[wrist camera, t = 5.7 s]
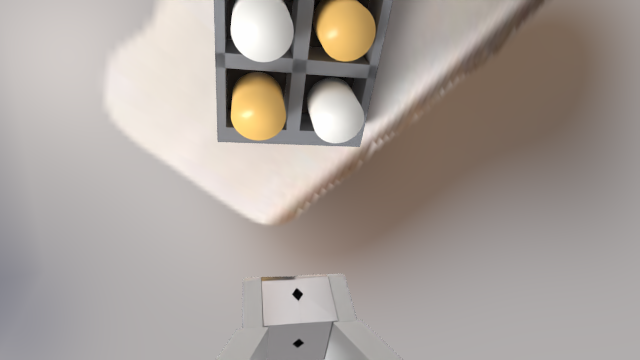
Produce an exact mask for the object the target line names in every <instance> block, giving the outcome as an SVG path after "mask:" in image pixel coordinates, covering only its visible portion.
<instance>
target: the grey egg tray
mask: <svg viewBox="0 0 640 360" xmlns="http://www.w3.org/2000/svg"><path fill="white" fill-rule="evenodd" d="M392 3H393V0H369V4H368V9H367V10H368V11H369V12H370V13H371V15H372V16H373V19H374V21H375V27H376V33H375V38H374V41H373V43H372V45H371V47H370V48H369V50H368V51H367V52H366V53H365V54H364V55H363V56H361V57H360V58H358V59H356V60H353V61H339V60H336V59H334V58H332V57H331V56H329V55H328V54H327V52H326V51H325V50H324V48H319V47H309V43H310V35H311V26H312V17H313V9H314V0H293V3H292V15H291V20H292V23H293V29H294V35H293V40H292V43H291V45H290V47H289V49H288V50H287V52H286V53H285V54H284V55H283V56H281V57H280V58H278V59H276V60H274V61H270V62H257V61H253V60H251V59H249V58H247V57H246V56H244V55H243V54H242V53H241V52H240V51H239V50H238V49H237V47H236V46H235V44H234V42H233V40H230V39H227V0H214V24H215V61H216V98H217V135H218V142H238V143H267V144H295V145H323V146H352V147H360V144H361V140H362V135H363V131H364V126H365V122H366V118H367V113H368V109H369V104H370V100H371V95H372V91H373V87H374V82H375V78H376V73H377V69H378V64H379V60H380V56H381V51H382V47H383V42H384V38H385V34H386V29H387V25H388V20H389V16H390V11H391V7H392ZM227 68H232V69H245V70H259V71H272V72H286V73H287V74H286V86H285V98H284V106H285V111H286V121H285V124H284V127H283V128H282V130H281V131H280V132H279V133H278V134H277V135H275V136H274V137H272V138H270V139H267V140H259V141H258V140H251V139H248V138H246V137H244V136H242V135H241V134H240V133H239V132H238V131H237V130H236V129H235V128H234V126H233V124H232V120H231V109H228V95H227ZM306 74H312V75H326V76H339V77H353V78H354V82H353V87H352V91H353V93H354V95H355V96H356V98H357V100H358V102H359V104H360V105H361V107H362V109H363V112H364V123H363V126H362V128H361V130H360V131H359V132H358V134H357V135H356V136H354V137H353V138H352V139H350V140H348V141H346V142H342V143H329V142H326V141H324V140H322V139H321V138H320V137H319V136H318V135H317V134H316V132H315V130H314V127H313V124H312V120H311V117H310V114H309V113H302V104H303V96H304V87H305V78H306Z"/></svg>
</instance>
